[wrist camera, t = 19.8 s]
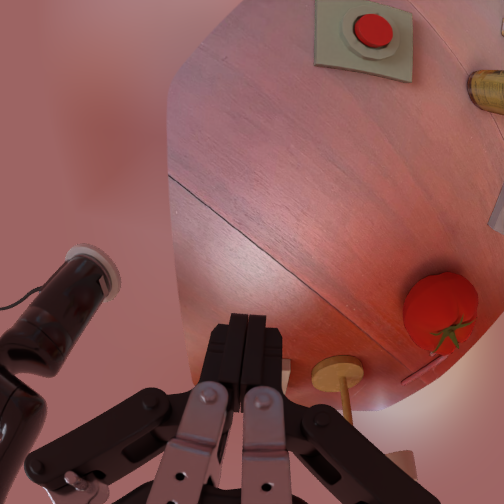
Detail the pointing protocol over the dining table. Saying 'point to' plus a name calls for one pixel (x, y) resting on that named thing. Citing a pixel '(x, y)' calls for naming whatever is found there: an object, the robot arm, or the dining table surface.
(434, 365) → the candy cane
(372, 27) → the button
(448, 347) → the tomato
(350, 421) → the lamp
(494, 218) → the grey terrain tile
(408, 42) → the switch block
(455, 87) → the dining table surface
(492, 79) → the sauce bottle
